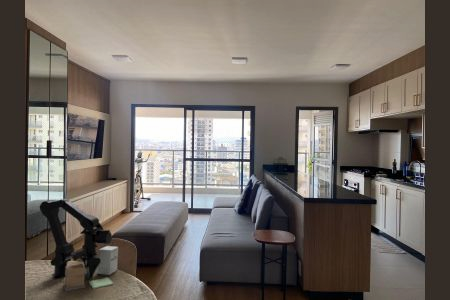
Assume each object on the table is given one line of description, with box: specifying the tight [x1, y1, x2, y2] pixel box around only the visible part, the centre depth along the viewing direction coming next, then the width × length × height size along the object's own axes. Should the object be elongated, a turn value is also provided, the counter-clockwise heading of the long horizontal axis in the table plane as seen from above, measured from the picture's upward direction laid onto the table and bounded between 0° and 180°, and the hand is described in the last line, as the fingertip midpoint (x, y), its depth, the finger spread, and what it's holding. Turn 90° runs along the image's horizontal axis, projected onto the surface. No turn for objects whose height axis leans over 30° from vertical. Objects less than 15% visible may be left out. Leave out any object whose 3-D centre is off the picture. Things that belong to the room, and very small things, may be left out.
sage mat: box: [88, 277, 114, 290], centre depth 141 cm, size 9×9×1 cm
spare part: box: [84, 267, 95, 280], centre depth 149 cm, size 5×5×5 cm
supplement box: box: [97, 245, 119, 276], centre depth 157 cm, size 7×7×13 cm
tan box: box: [62, 263, 86, 292], centre depth 137 cm, size 7×8×9 cm
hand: (88, 274), depth 149 cm, fingers open, 9 cm apart
